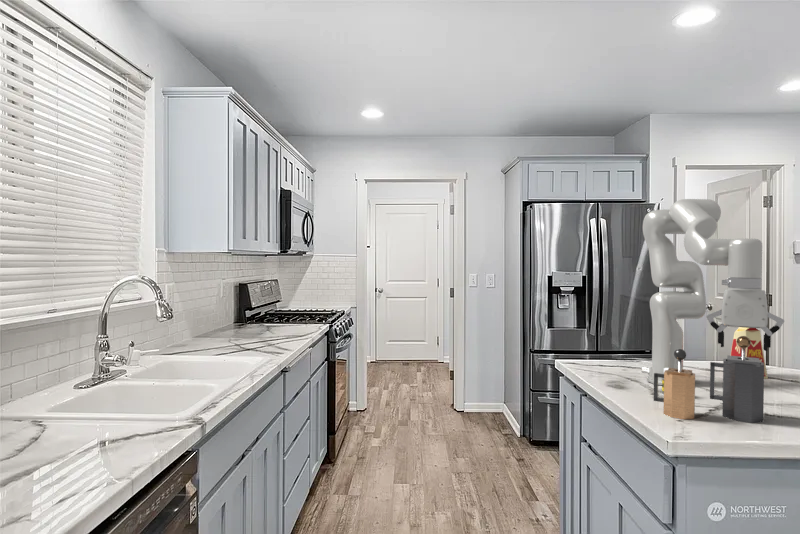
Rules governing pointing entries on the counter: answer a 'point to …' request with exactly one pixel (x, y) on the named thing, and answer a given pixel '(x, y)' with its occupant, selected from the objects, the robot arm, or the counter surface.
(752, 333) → the milk carton
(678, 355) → the grey ball handle
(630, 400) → the counter surface
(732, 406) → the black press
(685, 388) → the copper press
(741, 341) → the plunger rod
